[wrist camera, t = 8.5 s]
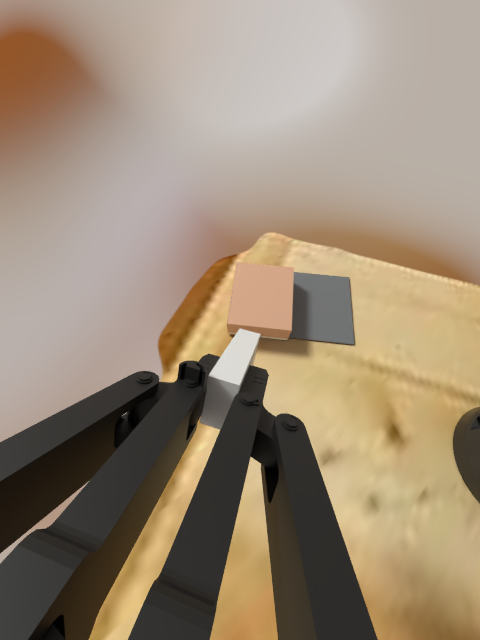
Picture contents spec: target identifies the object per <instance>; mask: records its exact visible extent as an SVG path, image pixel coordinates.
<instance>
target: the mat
mask: <svg viewBox="0 0 480 640" xmlns="http://www.w3.org/2000/svg"><path fill="white" fill-rule="evenodd" d="M289 338H295V339H304V340H313V341H322V342H331V343H341V344H350V345H354V334H353V321H352V309H351V296H350V284H349V277H339V276H329V275H318V274H308V273H297V272H294V280H293V308H292V331H291V333H290V336H289Z"/></svg>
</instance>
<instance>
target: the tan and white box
mask: <svg viewBox="0 0 480 640" xmlns="http://www.w3.org/2000/svg"><path fill="white" fill-rule="evenodd" d="M293 280H294V268H293V267H283V266H272V265H261V264H251V263H240V262H237V263H236V269H235V276H234V282H233V288H232V295H231V301H230V307H229V313H228V320H227V329H228V334H235V335H236V333H237V332H238V330H239V329H244V330H247V331H251V332H255V333H259V334H261V335H260V337H262V338H271V339H280V340H288V338H289V336H290V333H291V331H292V308H293Z"/></svg>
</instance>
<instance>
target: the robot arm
mask: <svg viewBox="0 0 480 640" xmlns="http://www.w3.org/2000/svg"><path fill="white" fill-rule="evenodd" d="M260 335H261V334H259V333H255V332H251V331H247V330H244V329H239V330H238V332H237V333H236V335H235V336H234V338H233V339H232V341H231V342H230V344H229V345H228V347H227V348H226V350H225V351H224V353H223V354H222V356H221V357H218V356H215V355H211V354H207V355H205V356H203V357H202V358H201V359H200V360H199V362H197V361H185V362H182V363H180V364H179V371H178V379H177V380H176V381H175V382H174V383H167V382H159V377H158V375H156V374H155V373H153V372H149V371H141V372H136V373H134V374H132V375H130V376H128V377H126V378H124V379H122V380H120V381H118V382H116V383H114V384H112V385H111V386H109V387H107V388H105V389H103V390H101V391H99V392H97V393H95V394H93V395H91V396H89V397H87V398H85V399H83V400H81V401H79V402H78V403H76V404H74V405H72V406H70V407H68V408H66V409H64V410H62V411H60V412H58V413H56V414H54V415H52V416H50V417H48V418H47V419H45V420H43V421H41V422H39V423H37V424H35V425H33V426H31V427H29V428H27V429H25V430H23V431H22V432H20V433H18V434H16V435H14V436H12V437H10V438H8V439H6V440H4V441H2V442H0V553H1V552H3V551H4V550H5V549H6V548H7V547H9V546H10V545H11V544H12V543H14V542H15V541H16V540H17V539H18V538H20V537H21V536H22V535H23V534H25V533H26V532H27V531H28V530H29V529H31V528H32V527H33V526H34V525H36V524H37V523H38V522H39V521H40V520H42V519H43V518H44V517H45V516H47V515H48V514H49V513H50V512H51V511H53V510H54V509H55V508H56V507H58V506H59V505H60V504H61V503H62V502H64V501H65V500H66V499H67V498H69V497H70V496H71V495H72V494H73V493H75V492H76V491H77V490H78V489H79V488H81V487H82V486H83V485H85V484H86V483H87V482H88V481H89V480H90V481H89V482H88V484H87V485H86V486H85V487H84V488H83V489H82V490H81V492H80V493H79V494H78V495H77V496H76V497H75V499H74V500H73V501H72V502H71V503H70V504H69V505H68V507H67V508H66V509H65V510H64V511H63V513H62V514H61V515H60V516H59V517H58V518H57V519H56V521H55V522H54V523H53V524H52V525H51V526H49V527H48V528H46V529H37V530H35V531H34V532H32V533H31V534H29V535H28V536H27V537H26V538H24V539H23V541H21V542H20V543H19V544H18V545H17V546H16V547H15V548H14V550H13V551H12V552H11V553H10V554H9V555H8V556H7V557H6V558H5V559H4V561H3V562H2V563H1V564H0V640H88V639H89V637H90V635H91V632H92V629H93V626H94V623H95V620H96V617H97V615H98V613H99V610H100V608H101V606H102V604H103V602H104V601H105V599H106V597H107V595H108V593H109V591H110V589H111V587H112V586H113V584H114V582H115V580H116V578H117V576H118V574H119V573H120V571H121V569H122V567H123V565H124V563H125V561H126V560H127V558H128V556H129V554H130V552H131V550H132V548H133V546H134V545H135V543H136V541H137V539H138V537H139V535H140V533H141V532H142V530H143V528H144V526H145V524H146V522H147V520H148V519H149V517H150V515H151V513H152V511H153V509H154V507H155V505H156V504H157V502H158V500H159V498H160V496H161V494H162V492H163V491H164V489H165V487H166V485H167V483H168V481H169V479H170V478H171V476H172V474H173V472H174V470H175V468H176V466H177V464H178V463H179V461H180V459H181V457H182V455H183V453H184V451H185V450H186V448H187V446H188V444H189V442H190V440H191V438H192V437H193V435H194V433H195V431H196V428H197V422H198V420H199V418H200V416H201V419H200V423H202V424H205V425H208V426H211V427H214V428H217V429H220V433H219V435H218V437H217V440H216V442H215V444H214V447H213V449H212V452H211V454H210V456H209V459H208V461H207V464H206V466H205V468H204V471H203V473H202V476H201V478H200V480H199V483H198V485H197V488H196V490H195V492H194V495H193V497H192V500H191V502H190V504H189V507H188V509H187V512H186V514H185V516H184V519H183V521H182V524H181V526H180V528H179V531H178V533H177V536H176V538H175V540H174V543H173V545H172V547H171V550H170V552H169V555H168V557H167V559H166V562H165V564H164V567H163V569H162V571H161V573H160V575H159V577H158V578H157V579H156V580H155V581H154V583H153V585H152V586H151V588H150V590H149V592H148V595H147V597H146V599H145V601H144V604H143V606H142V608H141V610H140V613H139V615H138V617H137V620H136V622H135V624H134V627H133V629H132V631H131V634H130V636H129V638H128V640H209V639H210V635H211V631H212V626H213V622H214V617H215V612H216V606H217V600H218V595H219V591H220V586H221V582H222V578H223V573H224V569H225V565H226V560H227V556H228V552H229V547H230V543H231V539H232V534H233V530H234V526H235V521H236V517H237V513H238V508H239V504H240V500H241V495H242V491H243V486H244V482H245V478H246V473H247V469H248V465H249V460H250V456H251V457H252V458H254V459H255V460H257V461H258V462H260V463H261V474H262V483H263V493H264V503H265V513H266V523H267V533H268V543H269V553H270V563H271V573H272V583H273V592H274V602H275V612H276V622H277V632H278V640H378V639H377V636H376V634H375V631H374V628H373V625H372V622H371V619H370V616H369V613H368V610H367V607H366V604H365V601H364V598H363V595H362V592H361V589H360V587H359V584H358V581H357V578H356V575H355V572H354V569H353V566H352V563H351V560H350V557H349V554H348V551H347V548H346V545H345V542H344V539H343V537H342V534H341V531H340V528H339V525H338V522H337V519H336V516H335V513H334V510H333V507H332V504H331V501H330V498H329V495H328V492H327V490H326V487H325V484H324V481H323V478H322V475H321V472H320V469H319V466H318V463H317V460H316V457H315V454H314V451H313V448H312V445H311V443H310V440H309V437H308V434H307V431H306V428H305V426H304V424H303V422H302V421H301V420H300V419H298V418H297V417H295V416H293V415H290V414H279V415H277V417H275V416H274V415H272V414H271V413H269V412H268V411H267V410H266V409H265V408H264V406H263V397H264V393H265V389H266V384H267V380H268V376H269V375H268V373H267V371H266V370H265V369H262V368H258V367H255V366H253V363H254V359H255V355H256V351H257V347H258V343H259V339H260ZM126 412H127V413H126ZM125 413H126V414H125ZM123 414H125V415H123ZM122 415H123V416H122ZM453 450H454V456H455V460H456V464H457V467H458V469H459V472H460V474H461V476H462V478H463V480H464V482H465V483H466V485H467V487H468V488H469V490H470V491H471V493H472V494H473V495H474V497H475V498H476V499H477V500H478V501H479V502H480V407H478V408H474V409H472V410H470V411H468V412H467V413H466V414H464V415H463V416H462V417H461V419H460V420H459V422H458V423H457V426H456V428H455V431H454V437H453Z"/></svg>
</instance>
